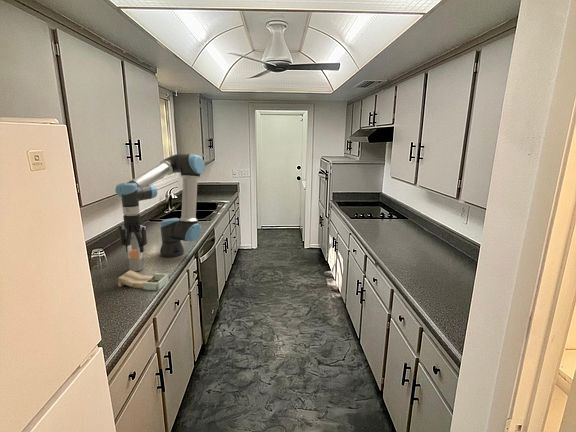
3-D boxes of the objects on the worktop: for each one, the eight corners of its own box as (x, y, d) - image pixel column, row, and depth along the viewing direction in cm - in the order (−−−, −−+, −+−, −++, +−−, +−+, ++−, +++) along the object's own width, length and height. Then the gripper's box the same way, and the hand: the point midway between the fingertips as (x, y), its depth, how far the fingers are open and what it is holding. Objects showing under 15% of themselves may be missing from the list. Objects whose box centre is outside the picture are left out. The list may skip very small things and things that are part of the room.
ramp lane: (129, 278, 174) (128, 269, 173) (154, 280, 173) (153, 271, 172) (118, 286, 165) (117, 277, 164) (144, 288, 163) (143, 279, 162)
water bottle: (128, 273, 181) (123, 230, 175) (131, 267, 189) (126, 226, 183) (146, 271, 184) (142, 229, 178) (148, 266, 191) (144, 225, 185)
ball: (133, 256, 170) (132, 247, 169) (142, 257, 170) (141, 248, 169) (128, 260, 165) (127, 250, 164) (137, 260, 165) (136, 251, 164)
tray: (155, 279, 174) (155, 273, 173) (169, 280, 173) (169, 273, 172) (143, 289, 162) (142, 282, 161) (158, 290, 161) (157, 283, 161)
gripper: (109, 215, 160) (114, 259, 165) (144, 216, 158) (148, 261, 164) (118, 212, 167) (123, 254, 172) (152, 213, 166) (155, 256, 171)
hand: (135, 257), depth 168 cm, fingers closed on ball, 5 cm apart
